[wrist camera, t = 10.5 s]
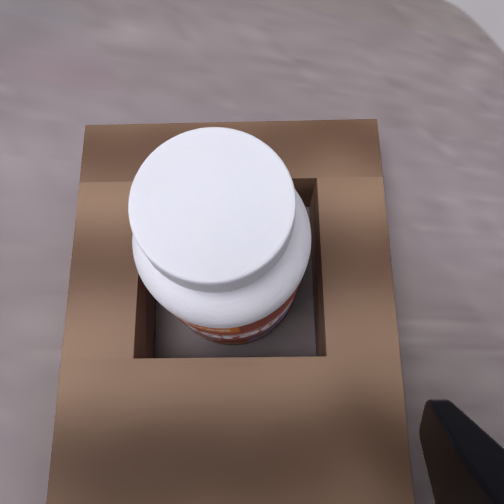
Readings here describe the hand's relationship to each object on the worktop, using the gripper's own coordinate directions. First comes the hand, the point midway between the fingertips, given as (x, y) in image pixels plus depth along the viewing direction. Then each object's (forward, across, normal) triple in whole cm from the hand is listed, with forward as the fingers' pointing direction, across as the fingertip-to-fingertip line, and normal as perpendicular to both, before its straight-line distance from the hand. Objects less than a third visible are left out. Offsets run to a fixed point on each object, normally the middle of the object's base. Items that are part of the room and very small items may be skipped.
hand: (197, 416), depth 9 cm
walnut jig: (+11, 0, +7) cm, 13 cm away
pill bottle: (+13, 0, +6) cm, 14 cm away
